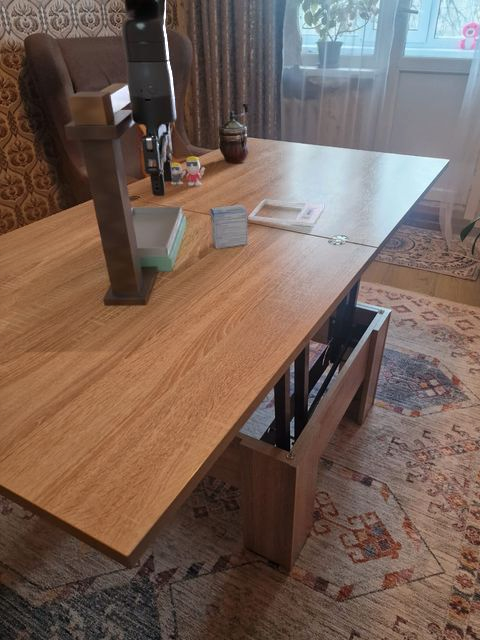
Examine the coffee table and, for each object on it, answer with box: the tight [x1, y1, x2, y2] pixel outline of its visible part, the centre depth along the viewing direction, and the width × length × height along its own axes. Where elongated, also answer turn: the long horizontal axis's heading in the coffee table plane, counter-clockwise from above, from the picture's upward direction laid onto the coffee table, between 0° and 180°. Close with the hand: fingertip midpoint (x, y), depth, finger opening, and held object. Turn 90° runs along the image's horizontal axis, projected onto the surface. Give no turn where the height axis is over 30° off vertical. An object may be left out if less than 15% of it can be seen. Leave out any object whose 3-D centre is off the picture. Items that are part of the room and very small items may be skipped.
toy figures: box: [170, 156, 206, 187], centre depth 154 cm, size 12×4×8 cm, turn 79°
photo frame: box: [247, 198, 326, 228], centre depth 132 cm, size 15×1×18 cm
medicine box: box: [209, 204, 249, 250], centre depth 114 cm, size 8×4×9 cm, turn 108°
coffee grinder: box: [218, 103, 250, 164], centre depth 175 cm, size 13×15×18 cm
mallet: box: [68, 82, 130, 125], centre depth 83 cm, size 5×24×4 cm, turn 1°
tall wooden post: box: [63, 109, 159, 307], centre depth 89 cm, size 8×14×32 cm, turn 1°
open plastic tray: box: [104, 206, 187, 272], centre depth 114 cm, size 14×27×5 cm, turn 1°
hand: (163, 188), depth 91 cm, fingers open, 8 cm apart
